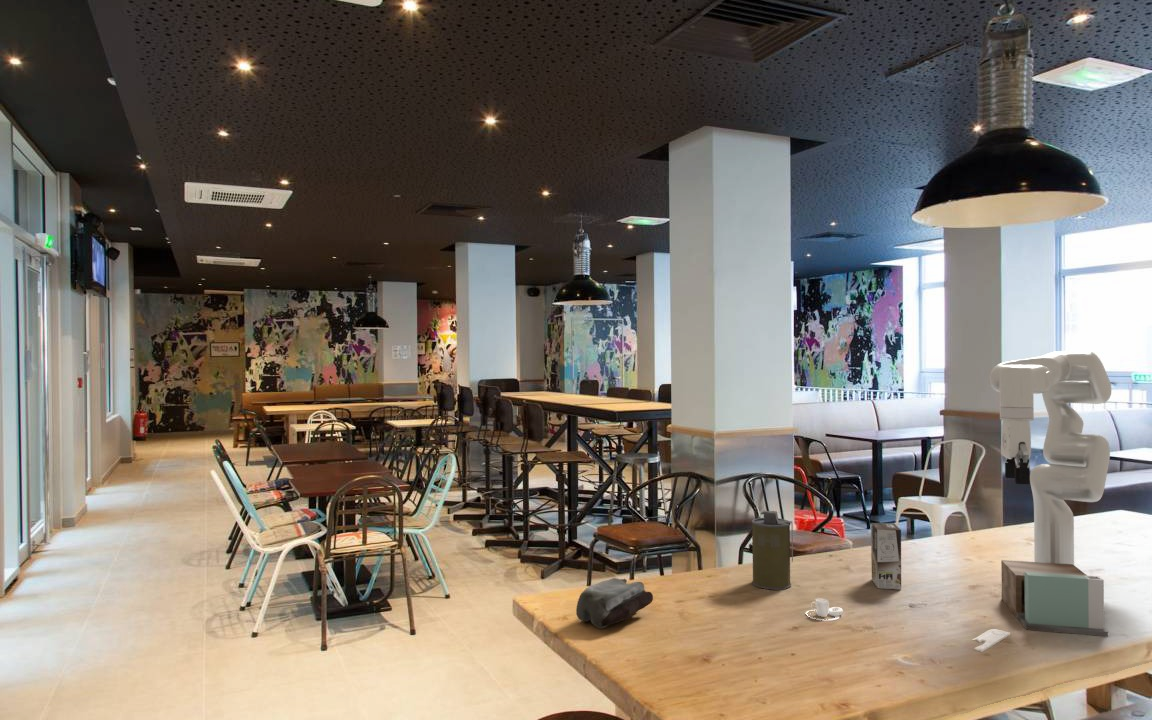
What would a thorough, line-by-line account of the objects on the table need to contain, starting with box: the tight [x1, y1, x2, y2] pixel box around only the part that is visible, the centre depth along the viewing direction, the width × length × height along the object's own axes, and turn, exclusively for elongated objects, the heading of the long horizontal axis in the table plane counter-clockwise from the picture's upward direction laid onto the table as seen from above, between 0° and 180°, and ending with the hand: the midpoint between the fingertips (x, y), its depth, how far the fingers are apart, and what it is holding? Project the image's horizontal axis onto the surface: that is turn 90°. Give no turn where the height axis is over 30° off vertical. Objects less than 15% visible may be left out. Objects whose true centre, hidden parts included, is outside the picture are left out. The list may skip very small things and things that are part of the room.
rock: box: [575, 577, 654, 629], centre depth 183 cm, size 20×12×8 cm, turn 143°
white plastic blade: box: [971, 628, 1011, 653], centre depth 168 cm, size 5×15×1 cm, turn 130°
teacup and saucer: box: [804, 597, 844, 622], centre depth 185 cm, size 9×8×4 cm
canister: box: [751, 510, 794, 591], centre depth 210 cm, size 11×10×20 cm
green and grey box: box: [1025, 572, 1105, 629], centre depth 175 cm, size 3×15×11 cm, turn 74°
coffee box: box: [870, 522, 902, 590], centre depth 210 cm, size 9×6×16 cm
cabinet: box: [1000, 559, 1109, 637], centre depth 183 cm, size 23×16×10 cm
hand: (1017, 480), depth 196 cm, fingers open, 9 cm apart
